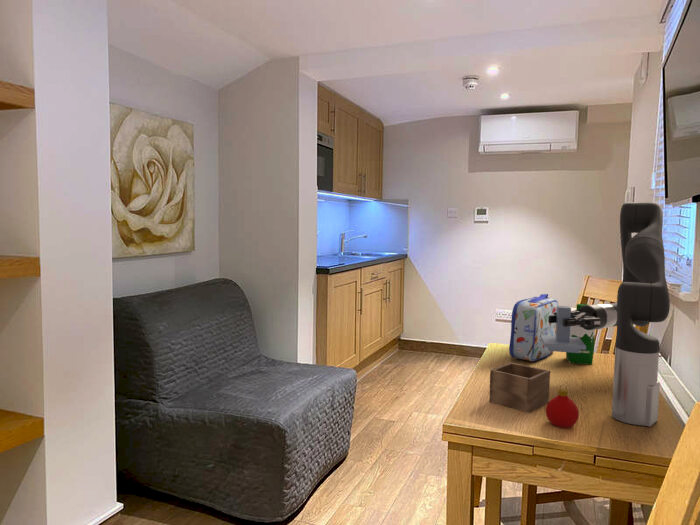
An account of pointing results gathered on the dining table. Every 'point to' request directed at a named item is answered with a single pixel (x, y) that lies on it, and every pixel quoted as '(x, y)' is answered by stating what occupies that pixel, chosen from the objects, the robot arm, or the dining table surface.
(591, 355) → the milk carton
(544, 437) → the dining table surface
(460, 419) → the dining table surface
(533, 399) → the block
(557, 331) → the lid
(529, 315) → the lunch box
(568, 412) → the christmas ornament
